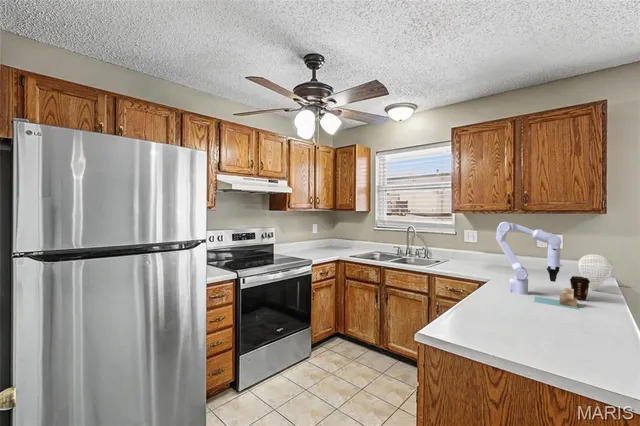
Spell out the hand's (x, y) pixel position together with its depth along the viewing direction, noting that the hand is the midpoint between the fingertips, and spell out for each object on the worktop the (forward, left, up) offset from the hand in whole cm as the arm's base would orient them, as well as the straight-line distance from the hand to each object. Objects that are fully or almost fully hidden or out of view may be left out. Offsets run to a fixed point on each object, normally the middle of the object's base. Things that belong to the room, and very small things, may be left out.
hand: (553, 280), depth 176 cm
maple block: (+7, -12, -6) cm, 15 cm away
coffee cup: (+12, +6, -11) cm, 17 cm away
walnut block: (+7, -12, -10) cm, 17 cm away
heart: (+20, +43, -11) cm, 49 cm away
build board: (+2, -12, -10) cm, 16 cm away
